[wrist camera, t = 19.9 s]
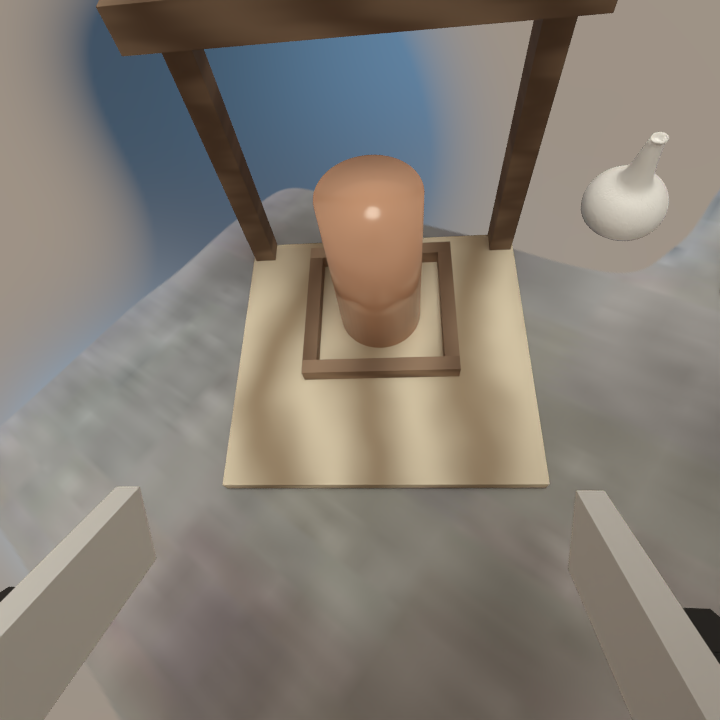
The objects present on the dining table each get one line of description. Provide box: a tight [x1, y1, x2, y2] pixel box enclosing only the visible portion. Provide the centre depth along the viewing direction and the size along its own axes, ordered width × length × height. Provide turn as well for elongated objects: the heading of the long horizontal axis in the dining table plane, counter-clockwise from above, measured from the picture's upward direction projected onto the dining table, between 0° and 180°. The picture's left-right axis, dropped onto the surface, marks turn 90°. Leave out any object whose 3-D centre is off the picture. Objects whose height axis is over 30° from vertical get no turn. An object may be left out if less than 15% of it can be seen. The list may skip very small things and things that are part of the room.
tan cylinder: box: [313, 155, 424, 348], centre depth 31 cm, size 6×6×12 cm
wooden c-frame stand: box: [96, 0, 618, 488], centre depth 26 cm, size 21×20×22 cm
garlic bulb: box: [581, 132, 669, 241], centre depth 36 cm, size 6×6×8 cm
